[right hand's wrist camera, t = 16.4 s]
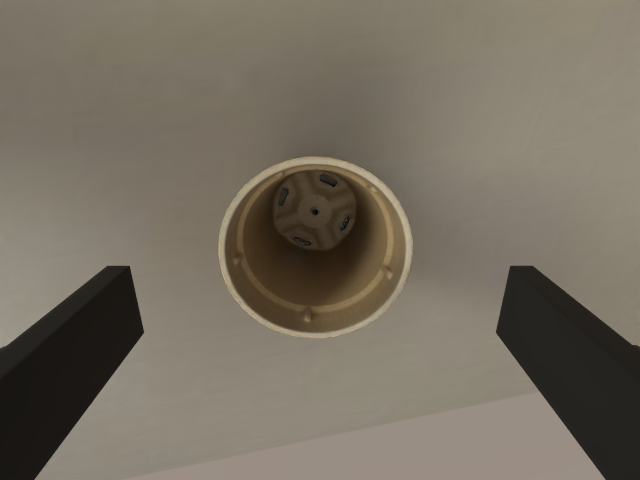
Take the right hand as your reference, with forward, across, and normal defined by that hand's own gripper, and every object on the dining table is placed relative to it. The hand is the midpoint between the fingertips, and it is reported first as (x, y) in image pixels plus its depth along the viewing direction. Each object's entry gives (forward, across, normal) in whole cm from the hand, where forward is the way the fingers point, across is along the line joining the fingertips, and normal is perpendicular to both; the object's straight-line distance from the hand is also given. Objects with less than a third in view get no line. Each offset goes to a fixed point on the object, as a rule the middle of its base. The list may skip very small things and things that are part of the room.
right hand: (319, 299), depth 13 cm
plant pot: (+13, 0, +1) cm, 13 cm away
